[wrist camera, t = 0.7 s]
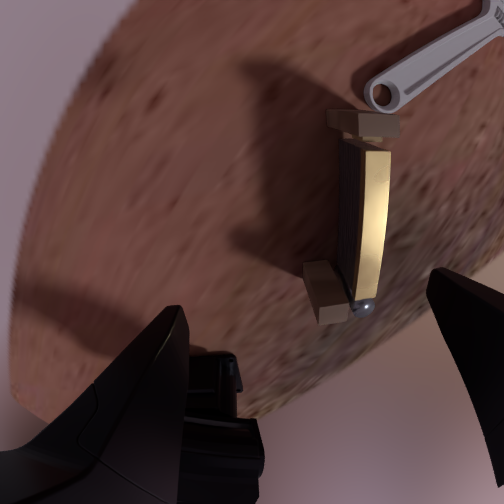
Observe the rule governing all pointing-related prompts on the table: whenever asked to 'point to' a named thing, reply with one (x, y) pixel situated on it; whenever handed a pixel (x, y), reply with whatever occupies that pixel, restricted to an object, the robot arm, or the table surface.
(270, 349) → the table surface
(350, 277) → the gate panel
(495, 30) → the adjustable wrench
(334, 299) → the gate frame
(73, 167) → the table surface
